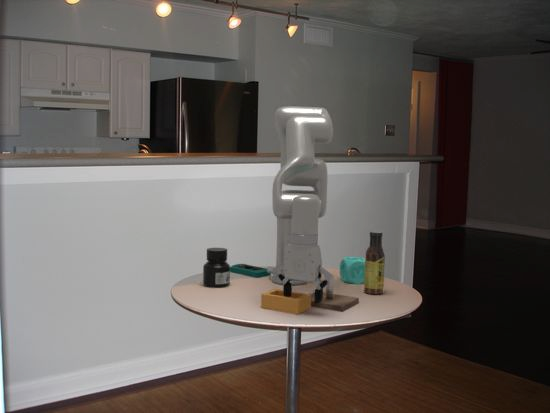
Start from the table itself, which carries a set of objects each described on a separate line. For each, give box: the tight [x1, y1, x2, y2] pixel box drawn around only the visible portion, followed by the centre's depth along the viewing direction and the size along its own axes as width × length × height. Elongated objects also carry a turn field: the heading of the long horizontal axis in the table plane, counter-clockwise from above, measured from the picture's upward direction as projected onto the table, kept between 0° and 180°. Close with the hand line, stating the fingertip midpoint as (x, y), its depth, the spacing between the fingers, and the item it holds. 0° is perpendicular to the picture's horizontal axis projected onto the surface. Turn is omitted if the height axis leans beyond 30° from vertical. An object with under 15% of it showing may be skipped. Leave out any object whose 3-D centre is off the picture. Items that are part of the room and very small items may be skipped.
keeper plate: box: [310, 274, 360, 313], centre depth 179 cm, size 14×12×9 cm
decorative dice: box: [339, 256, 366, 285], centre depth 210 cm, size 8×8×8 cm
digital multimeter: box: [230, 263, 272, 279], centre depth 219 cm, size 7×15×3 cm, turn 48°
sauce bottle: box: [363, 230, 386, 295], centre depth 193 cm, size 6×6×20 cm
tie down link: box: [260, 288, 312, 315], centre depth 173 cm, size 12×8×4 cm, turn 60°
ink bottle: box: [202, 247, 231, 288], centre depth 199 cm, size 10×9×12 cm
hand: (302, 300), depth 170 cm, fingers open, 9 cm apart
